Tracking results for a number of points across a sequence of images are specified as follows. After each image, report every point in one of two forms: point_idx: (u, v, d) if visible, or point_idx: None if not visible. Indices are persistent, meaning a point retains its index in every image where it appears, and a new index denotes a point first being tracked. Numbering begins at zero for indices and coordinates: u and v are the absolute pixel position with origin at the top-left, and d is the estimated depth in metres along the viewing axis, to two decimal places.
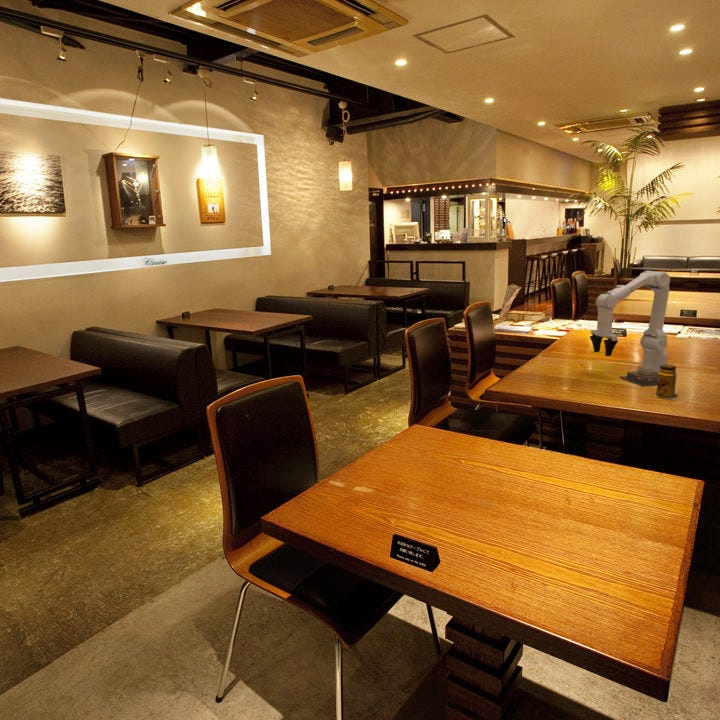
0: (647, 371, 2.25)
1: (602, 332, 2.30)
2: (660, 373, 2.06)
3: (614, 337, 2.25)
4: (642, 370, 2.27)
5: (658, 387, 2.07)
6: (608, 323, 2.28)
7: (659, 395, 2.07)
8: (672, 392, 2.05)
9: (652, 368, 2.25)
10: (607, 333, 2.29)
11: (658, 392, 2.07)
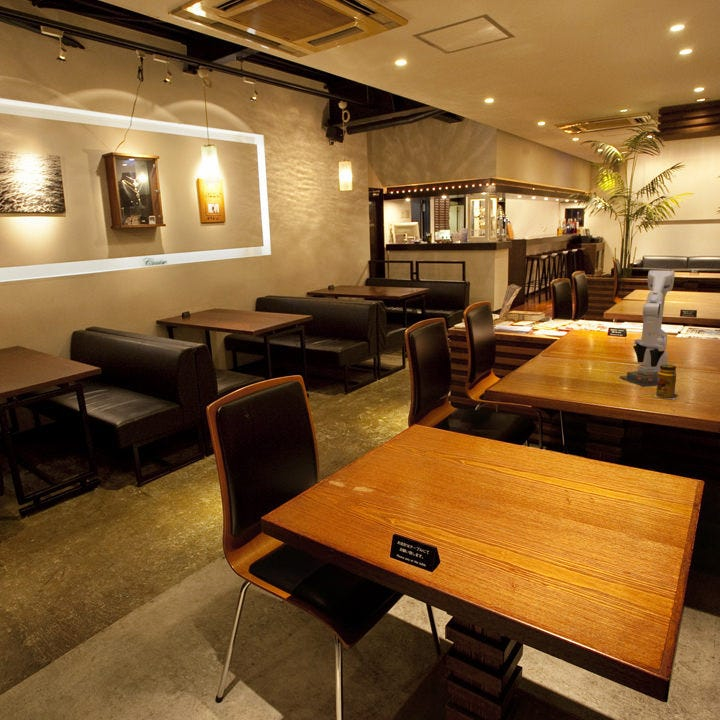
0: (647, 371, 2.25)
1: (648, 342, 2.22)
2: (660, 373, 2.06)
3: (661, 347, 2.18)
4: (642, 370, 2.27)
5: (658, 387, 2.07)
6: (654, 333, 2.21)
7: (659, 395, 2.07)
8: (672, 392, 2.05)
9: (652, 368, 2.25)
10: (653, 343, 2.21)
11: (658, 392, 2.07)
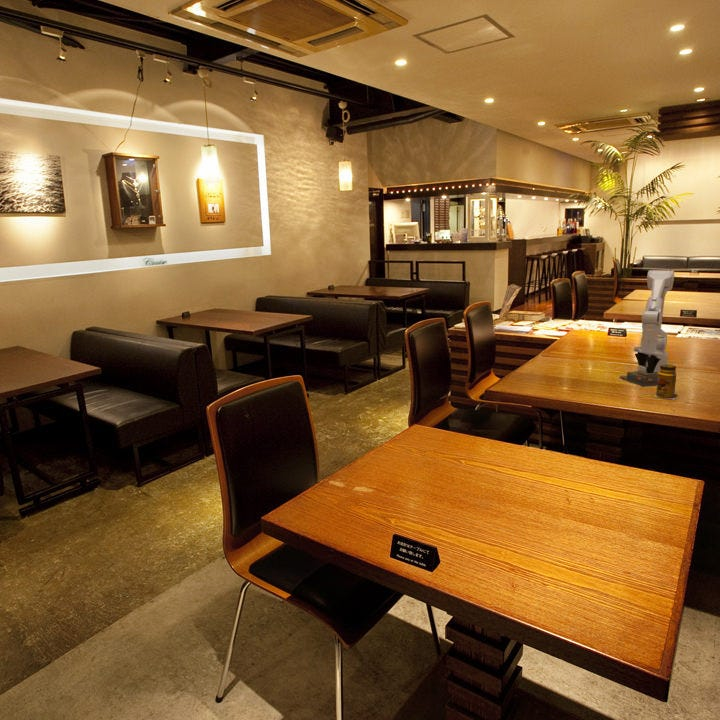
0: (647, 371, 2.25)
1: (647, 349, 2.23)
2: (660, 373, 2.06)
3: (660, 355, 2.18)
4: (642, 370, 2.27)
5: (658, 387, 2.07)
6: (653, 340, 2.21)
7: (659, 395, 2.07)
8: (672, 392, 2.05)
9: None
10: (652, 350, 2.22)
11: (658, 392, 2.07)
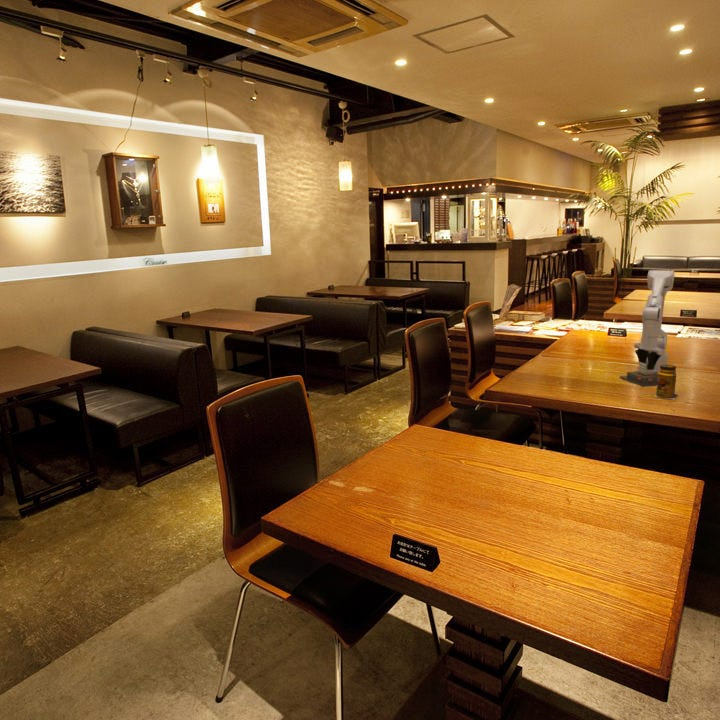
0: (647, 368, 2.25)
1: (647, 346, 2.22)
2: (660, 373, 2.06)
3: (661, 351, 2.18)
4: (642, 367, 2.26)
5: (658, 387, 2.07)
6: (654, 337, 2.21)
7: (659, 395, 2.07)
8: (672, 392, 2.05)
9: None
10: (652, 347, 2.22)
11: (658, 392, 2.07)
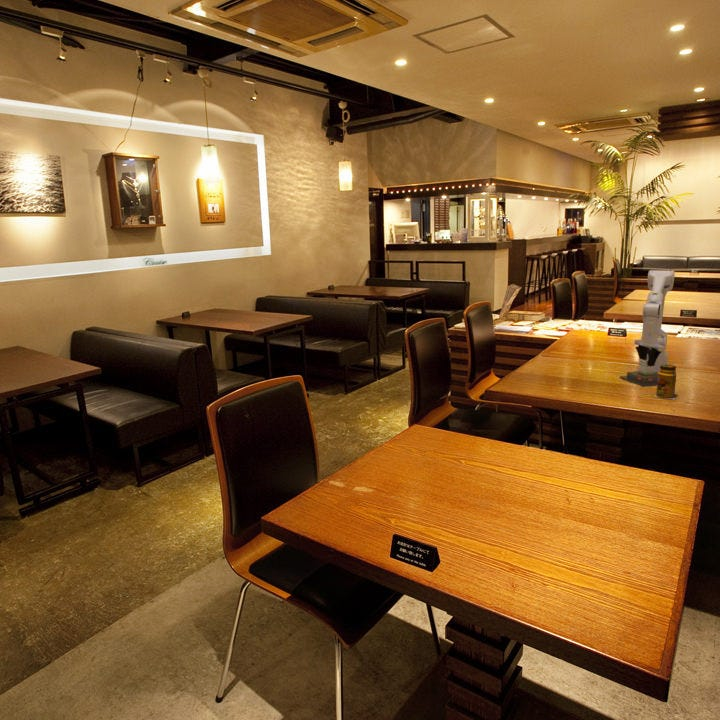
0: (648, 365, 2.24)
1: (648, 342, 2.22)
2: (660, 373, 2.06)
3: (661, 348, 2.18)
4: (643, 364, 2.26)
5: (658, 387, 2.07)
6: (654, 333, 2.21)
7: (659, 395, 2.07)
8: (672, 392, 2.05)
9: None
10: (653, 343, 2.22)
11: (658, 392, 2.07)
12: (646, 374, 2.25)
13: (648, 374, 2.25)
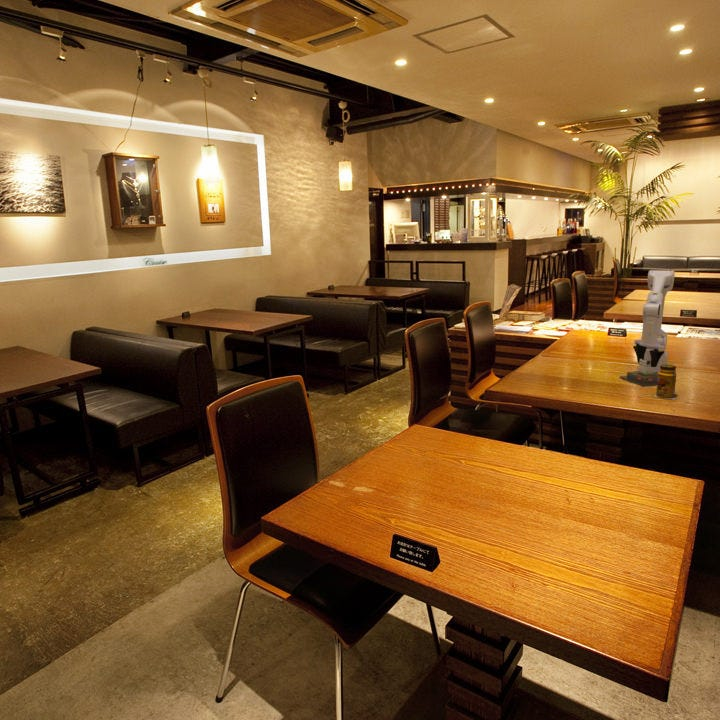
0: (648, 365, 2.24)
1: (648, 342, 2.22)
2: (660, 373, 2.06)
3: (661, 348, 2.18)
4: (643, 364, 2.26)
5: (658, 387, 2.07)
6: (654, 333, 2.21)
7: (659, 395, 2.07)
8: (672, 392, 2.05)
9: None
10: (653, 343, 2.22)
11: (658, 392, 2.07)
12: (646, 374, 2.25)
13: (648, 374, 2.25)
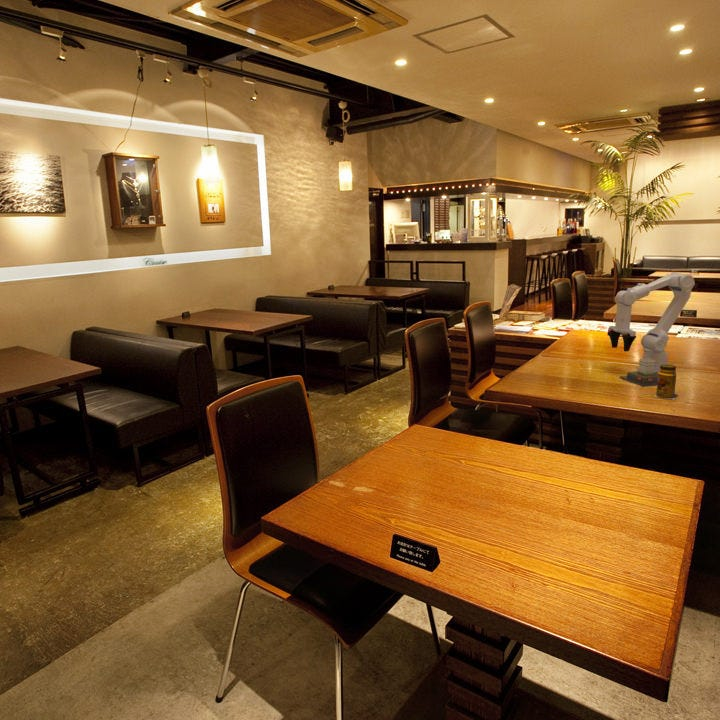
0: (648, 365, 2.24)
1: (621, 328, 2.35)
2: (660, 373, 2.06)
3: (633, 333, 2.31)
4: (643, 364, 2.26)
5: (658, 387, 2.07)
6: (627, 319, 2.34)
7: (659, 395, 2.07)
8: (672, 392, 2.05)
9: (653, 362, 2.25)
10: (625, 329, 2.35)
11: (658, 392, 2.07)
12: (646, 374, 2.25)
13: (648, 374, 2.25)
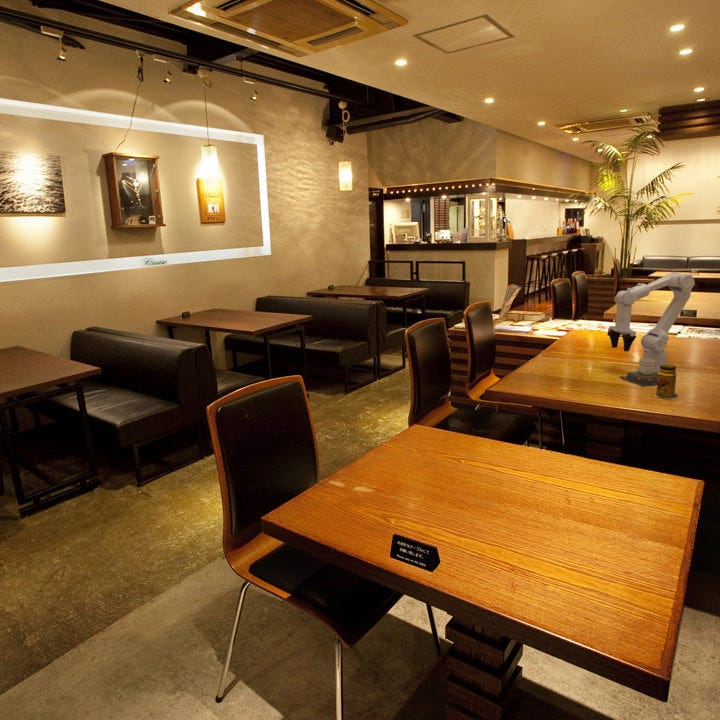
0: (648, 365, 2.24)
1: (621, 328, 2.35)
2: (660, 373, 2.06)
3: (633, 333, 2.31)
4: (643, 364, 2.26)
5: (658, 387, 2.07)
6: (627, 319, 2.34)
7: (659, 395, 2.07)
8: (672, 392, 2.05)
9: (653, 362, 2.25)
10: (625, 329, 2.35)
11: (658, 392, 2.07)
12: (646, 374, 2.25)
13: (648, 374, 2.25)
